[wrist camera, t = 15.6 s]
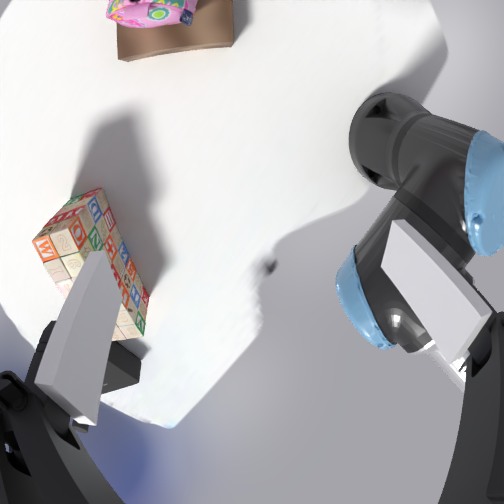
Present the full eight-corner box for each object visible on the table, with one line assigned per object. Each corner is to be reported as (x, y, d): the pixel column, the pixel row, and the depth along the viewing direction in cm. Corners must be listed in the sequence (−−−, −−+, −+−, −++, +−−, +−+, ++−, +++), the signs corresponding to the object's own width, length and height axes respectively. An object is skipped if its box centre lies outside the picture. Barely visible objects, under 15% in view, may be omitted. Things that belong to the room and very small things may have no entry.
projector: (89, 316, 48) (65, 403, 31) (143, 359, 57) (137, 439, 40) (47, 342, 51) (25, 412, 34) (96, 377, 60) (85, 443, 43)
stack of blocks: (150, 297, 47) (141, 353, 37) (120, 302, 47) (107, 356, 36) (102, 186, 35) (67, 228, 24) (68, 198, 34) (29, 241, 24)
